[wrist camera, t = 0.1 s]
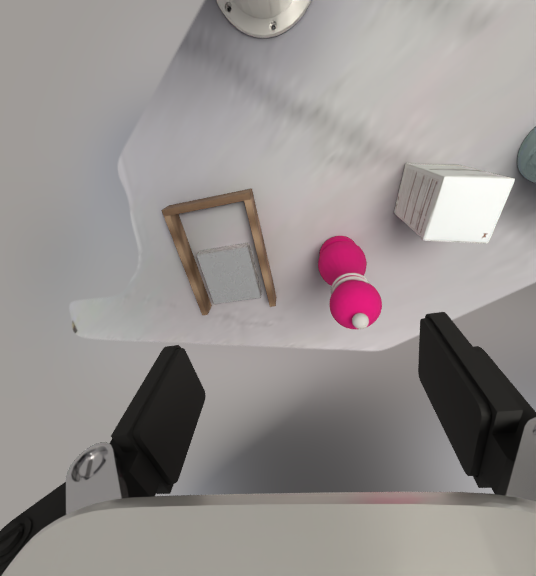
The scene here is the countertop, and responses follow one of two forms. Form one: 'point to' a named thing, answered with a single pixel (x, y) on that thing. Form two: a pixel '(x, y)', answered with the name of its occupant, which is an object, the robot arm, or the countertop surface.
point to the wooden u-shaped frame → (187, 255)
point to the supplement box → (451, 202)
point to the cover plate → (230, 273)
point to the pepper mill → (348, 283)
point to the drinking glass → (528, 157)
